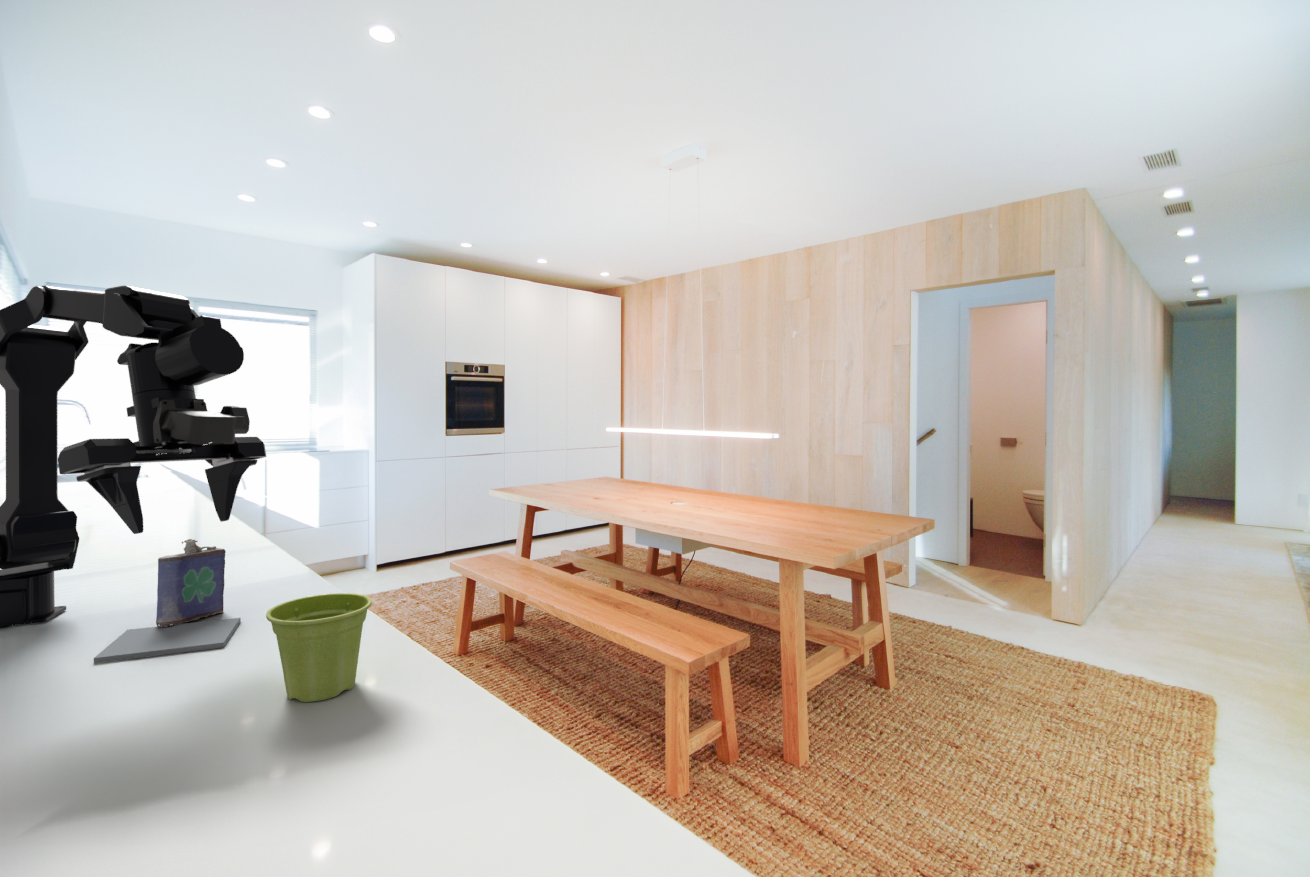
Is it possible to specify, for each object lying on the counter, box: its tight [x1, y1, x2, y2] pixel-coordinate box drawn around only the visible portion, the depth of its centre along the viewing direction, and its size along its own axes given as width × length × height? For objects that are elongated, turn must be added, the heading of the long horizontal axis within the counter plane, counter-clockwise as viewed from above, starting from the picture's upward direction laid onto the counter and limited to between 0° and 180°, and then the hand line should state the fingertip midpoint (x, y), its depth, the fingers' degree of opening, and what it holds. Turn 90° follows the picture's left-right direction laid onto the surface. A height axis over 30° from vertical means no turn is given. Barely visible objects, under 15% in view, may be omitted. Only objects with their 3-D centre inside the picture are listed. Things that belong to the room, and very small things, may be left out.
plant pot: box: [265, 592, 372, 703], centre depth 61 cm, size 9×9×9 cm
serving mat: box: [93, 617, 241, 664], centre depth 74 cm, size 10×12×1 cm
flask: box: [155, 538, 226, 627], centre depth 81 cm, size 9×3×11 cm, turn 171°
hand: (184, 526), depth 69 cm, fingers open, 9 cm apart
